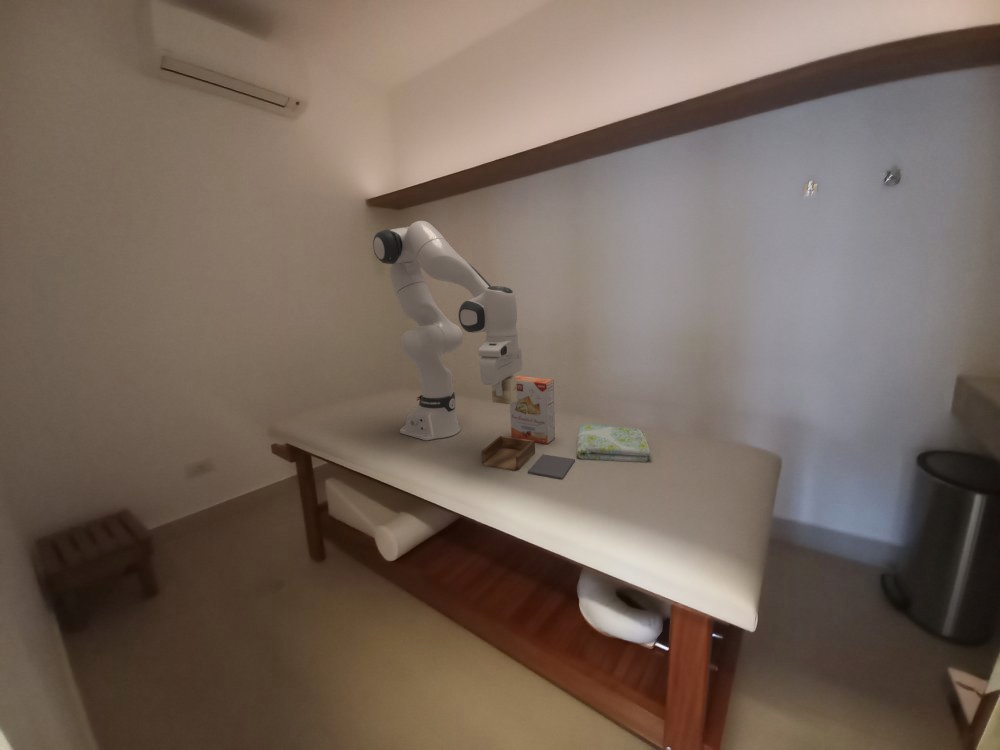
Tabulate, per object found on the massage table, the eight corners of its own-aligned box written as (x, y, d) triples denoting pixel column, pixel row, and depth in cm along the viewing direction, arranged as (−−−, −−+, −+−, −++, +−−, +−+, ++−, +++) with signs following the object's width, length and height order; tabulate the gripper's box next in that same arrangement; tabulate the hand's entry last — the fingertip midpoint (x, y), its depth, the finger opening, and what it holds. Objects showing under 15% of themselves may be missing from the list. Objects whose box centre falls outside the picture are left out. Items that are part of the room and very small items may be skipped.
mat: (527, 473, 110) (527, 471, 110) (542, 456, 121) (542, 454, 120) (562, 479, 106) (562, 477, 106) (574, 461, 116) (574, 459, 116)
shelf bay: (480, 464, 117) (479, 452, 116) (500, 447, 128) (500, 435, 128) (517, 471, 112) (516, 458, 111) (535, 452, 123) (534, 440, 122)
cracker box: (510, 438, 136) (507, 378, 131) (519, 432, 141) (517, 374, 136) (547, 445, 128) (545, 382, 124) (555, 439, 133) (554, 378, 128)
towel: (652, 464, 113) (652, 447, 112) (576, 460, 118) (576, 444, 116) (643, 439, 130) (644, 425, 129) (577, 437, 135) (577, 422, 134)
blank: (492, 402, 115) (491, 378, 113) (498, 398, 118) (497, 375, 117) (511, 404, 112) (510, 380, 111) (517, 400, 116) (516, 377, 114)
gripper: (507, 339, 122) (509, 383, 125) (474, 351, 104) (477, 401, 107) (526, 340, 119) (528, 384, 122) (496, 351, 101) (498, 403, 105)
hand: (504, 392), depth 115 cm, fingers closed on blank, 4 cm apart
